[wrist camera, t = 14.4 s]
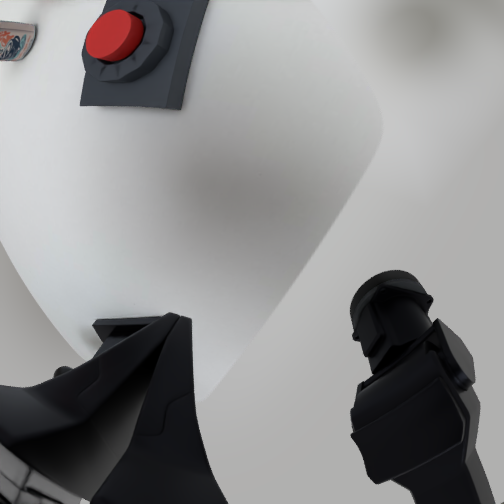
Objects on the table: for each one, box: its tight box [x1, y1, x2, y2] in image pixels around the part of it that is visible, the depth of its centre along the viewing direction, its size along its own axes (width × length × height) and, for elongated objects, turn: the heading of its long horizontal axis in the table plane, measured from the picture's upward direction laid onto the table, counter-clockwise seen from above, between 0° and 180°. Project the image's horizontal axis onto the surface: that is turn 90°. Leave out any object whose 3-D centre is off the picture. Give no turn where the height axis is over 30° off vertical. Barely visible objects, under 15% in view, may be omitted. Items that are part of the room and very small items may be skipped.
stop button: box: [86, 10, 144, 61], centre depth 11 cm, size 4×4×2 cm
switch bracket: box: [92, 317, 161, 358], centre depth 24 cm, size 10×7×12 cm
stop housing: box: [80, 0, 209, 110], centre depth 14 cm, size 10×8×4 cm
